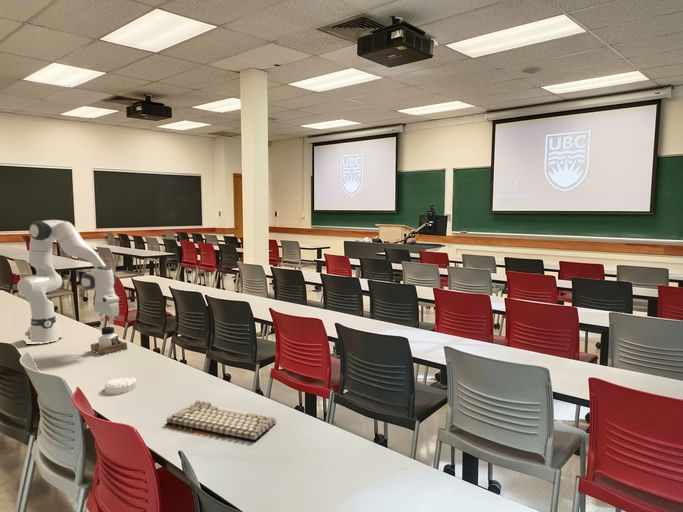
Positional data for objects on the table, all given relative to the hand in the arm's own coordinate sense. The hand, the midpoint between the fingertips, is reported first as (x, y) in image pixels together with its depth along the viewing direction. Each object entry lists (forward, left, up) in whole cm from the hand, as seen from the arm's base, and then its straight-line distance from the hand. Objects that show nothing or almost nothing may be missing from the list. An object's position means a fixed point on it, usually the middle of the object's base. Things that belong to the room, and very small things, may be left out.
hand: (106, 322), depth 251 cm
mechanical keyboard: (+119, -17, -16) cm, 121 cm away
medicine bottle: (0, 0, -15) cm, 15 cm away
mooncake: (+58, -23, -16) cm, 65 cm away
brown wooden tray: (0, 0, -15) cm, 15 cm away
